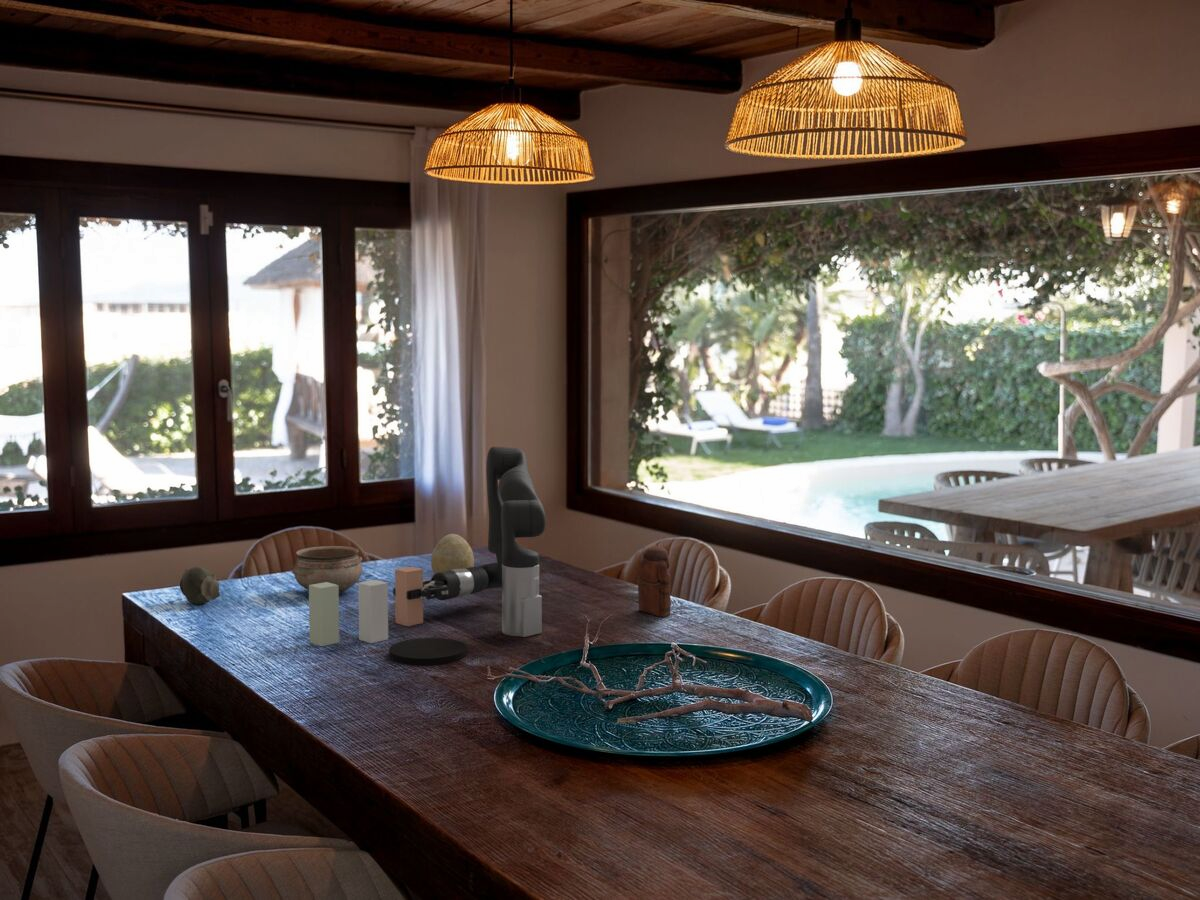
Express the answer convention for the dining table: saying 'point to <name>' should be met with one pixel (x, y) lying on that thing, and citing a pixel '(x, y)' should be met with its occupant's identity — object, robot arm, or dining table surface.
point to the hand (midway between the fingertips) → (400, 593)
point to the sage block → (324, 613)
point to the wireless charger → (427, 651)
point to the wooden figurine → (654, 582)
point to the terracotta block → (404, 608)
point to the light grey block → (373, 611)
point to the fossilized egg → (451, 554)
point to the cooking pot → (328, 566)
